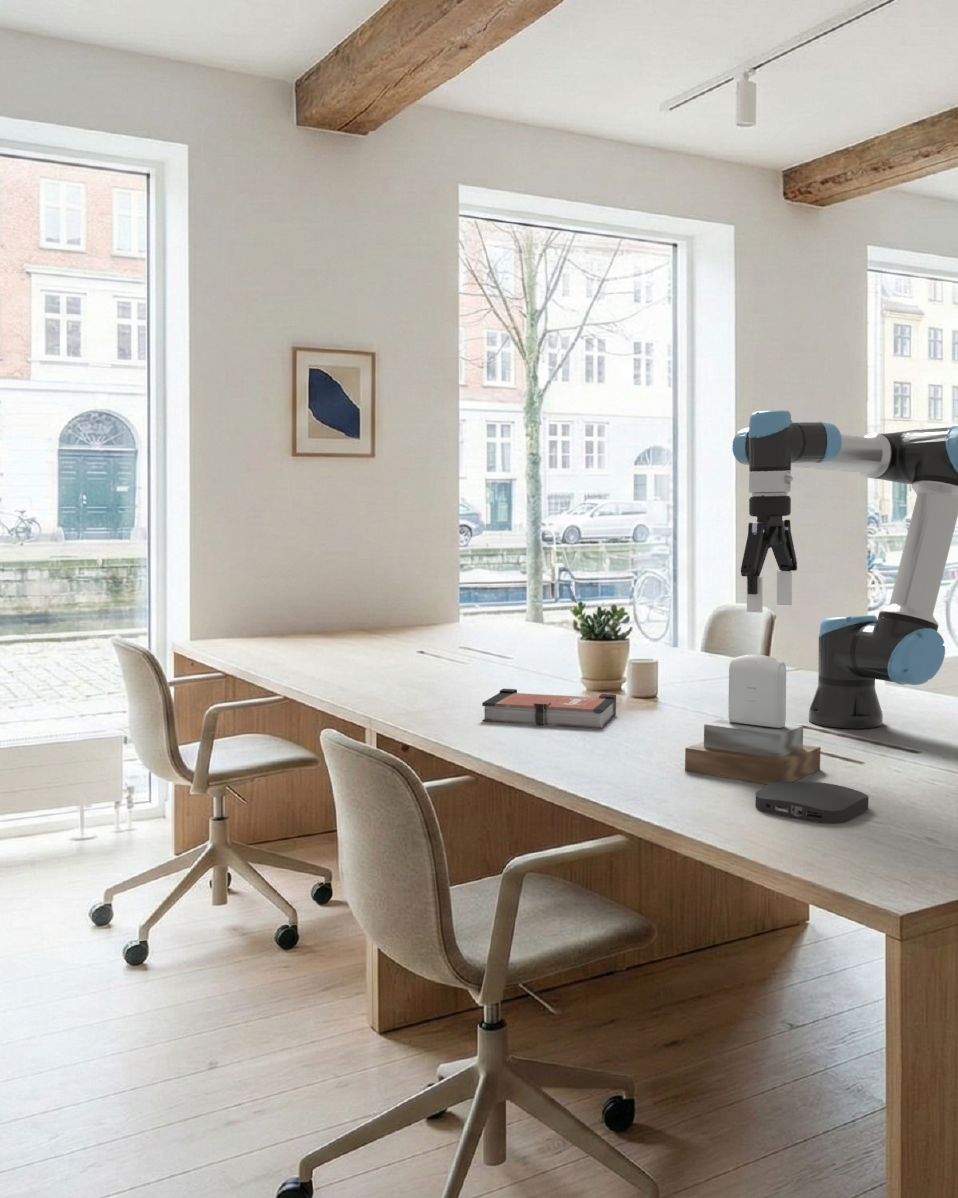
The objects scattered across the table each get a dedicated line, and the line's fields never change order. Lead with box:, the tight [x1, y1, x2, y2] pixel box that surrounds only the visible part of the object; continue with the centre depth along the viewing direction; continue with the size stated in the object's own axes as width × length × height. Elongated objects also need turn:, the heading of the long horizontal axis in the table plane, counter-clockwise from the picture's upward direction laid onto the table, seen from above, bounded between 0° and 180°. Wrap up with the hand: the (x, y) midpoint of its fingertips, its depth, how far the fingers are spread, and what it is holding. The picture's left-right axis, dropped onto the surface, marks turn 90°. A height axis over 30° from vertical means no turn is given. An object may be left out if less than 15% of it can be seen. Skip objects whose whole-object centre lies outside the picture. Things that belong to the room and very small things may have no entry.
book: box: [481, 688, 617, 730], centre depth 244 cm, size 26×18×5 cm
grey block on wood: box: [684, 716, 822, 785], centre depth 196 cm, size 16×18×8 cm
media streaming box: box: [754, 781, 870, 824], centre depth 171 cm, size 15×15×3 cm
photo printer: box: [728, 654, 787, 728], centre depth 195 cm, size 10×4×12 cm, turn 50°
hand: (769, 608), depth 208 cm, fingers open, 13 cm apart
